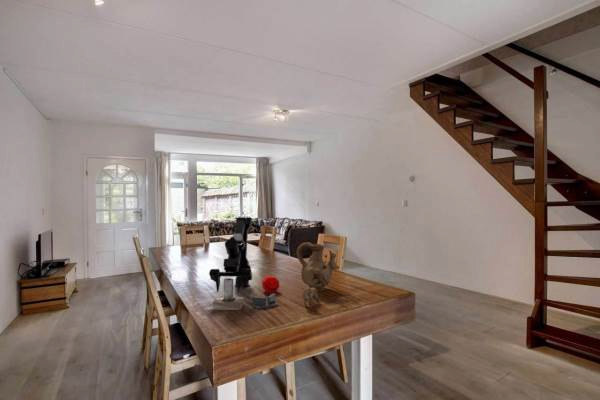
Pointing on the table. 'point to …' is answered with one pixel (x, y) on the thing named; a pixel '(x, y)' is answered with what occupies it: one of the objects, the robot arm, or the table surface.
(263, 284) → the ball
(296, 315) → the table surface
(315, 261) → the ceramic vessel
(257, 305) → the V-block
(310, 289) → the lion figurine
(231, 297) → the axle
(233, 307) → the block with rectangular hole
